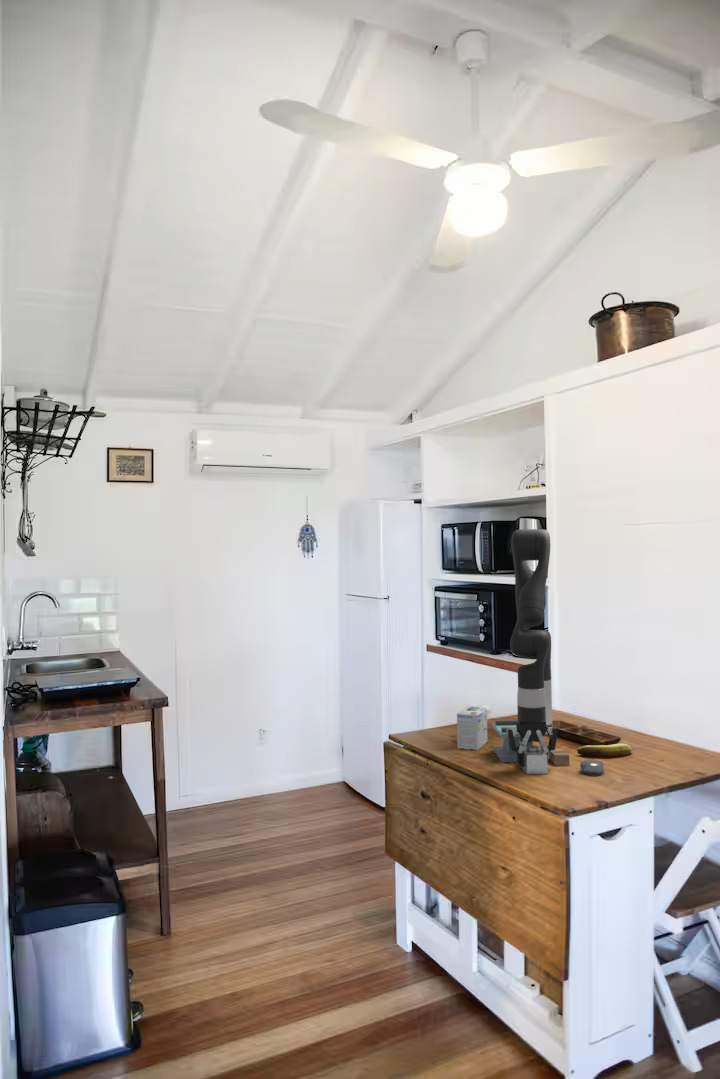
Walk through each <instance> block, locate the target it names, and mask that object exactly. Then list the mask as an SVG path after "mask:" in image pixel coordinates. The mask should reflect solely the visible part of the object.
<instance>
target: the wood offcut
mask: <svg viewBox="0 0 720 1079" xmlns="http://www.w3.org/2000/svg"><path fill="white" fill-rule="evenodd" d="M548 761H550V763H552V764H553V765H554V766H570V753H568V752H567V751H566V750H565V749H563V748H555V750H551V751H549V753H548Z"/></svg>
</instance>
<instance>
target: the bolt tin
mask: <svg viewBox="0 0 720 1079" xmlns="http://www.w3.org/2000/svg"><path fill="white" fill-rule="evenodd" d="M579 765H580V768H579V769H580V773H581V774H583V775H587V776H592V775H598V776H602V774H603V775H604V774H605V766H604V765H605V763H604V762H602V761H600V760H596V759H585V760H582V761H580V764H579Z"/></svg>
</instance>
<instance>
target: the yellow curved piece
mask: <svg viewBox="0 0 720 1079" xmlns="http://www.w3.org/2000/svg"><path fill="white" fill-rule="evenodd" d="M540 748H541V747H540ZM541 749H542V748H541ZM576 751H577V754H578V755H581V756H582V757H584V756H586V757H585V758H591V757H606V758H618V756H619V757H624V756H623V755H625V756H628V754H629V753H630V754H631V753H632V751H633V749H632V747H631V745H629V744H626V743H614V744H608V745H604V744H602V745H599V744H598V745H592V744H591V745H589V744H588V745H583V746H581V747H578V748H577V749H576ZM630 754H629V755H630Z"/></svg>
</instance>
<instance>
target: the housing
mask: <svg viewBox="0 0 720 1079" xmlns="http://www.w3.org/2000/svg"><path fill="white" fill-rule="evenodd" d="M533 745H534V744H533ZM533 745H530V746H525V747H524V750H523V754H524V767H520V768H521V769H522V771H524V772H525V773H526V775H547V774H548V764H547V754H546V753H545V752H544V751H543V750H542V749H541V746H540V745H539V746H538V745H534V746H533Z"/></svg>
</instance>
